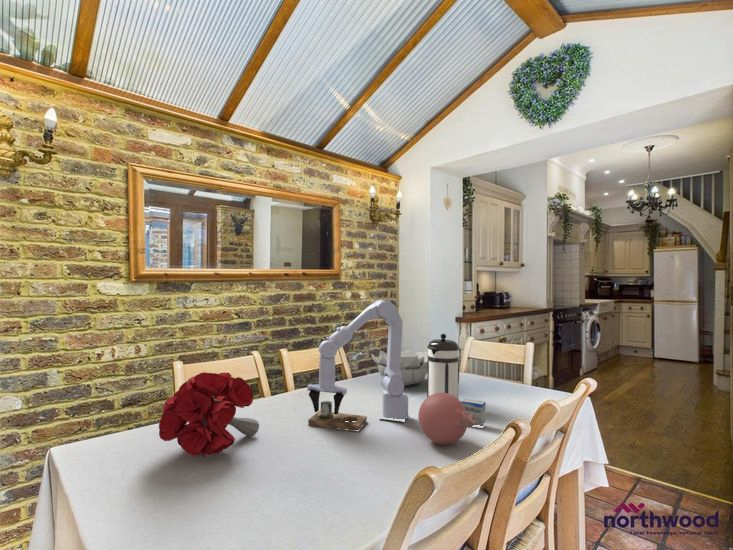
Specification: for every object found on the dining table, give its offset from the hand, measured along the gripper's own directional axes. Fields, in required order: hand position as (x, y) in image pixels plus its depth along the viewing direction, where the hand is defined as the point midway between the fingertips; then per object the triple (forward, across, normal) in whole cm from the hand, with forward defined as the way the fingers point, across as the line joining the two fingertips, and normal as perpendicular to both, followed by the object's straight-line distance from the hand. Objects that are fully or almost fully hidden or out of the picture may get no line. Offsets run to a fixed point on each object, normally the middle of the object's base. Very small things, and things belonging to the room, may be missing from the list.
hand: (326, 412), depth 138 cm
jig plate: (+3, +4, 0) cm, 6 cm away
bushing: (+3, 0, 0) cm, 3 cm away
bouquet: (+4, -22, -32) cm, 39 cm away
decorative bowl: (+4, +16, +62) cm, 64 cm away
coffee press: (+4, +38, +32) cm, 50 cm away
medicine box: (+4, +50, +14) cm, 53 cm away
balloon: (+4, +44, -6) cm, 44 cm away
